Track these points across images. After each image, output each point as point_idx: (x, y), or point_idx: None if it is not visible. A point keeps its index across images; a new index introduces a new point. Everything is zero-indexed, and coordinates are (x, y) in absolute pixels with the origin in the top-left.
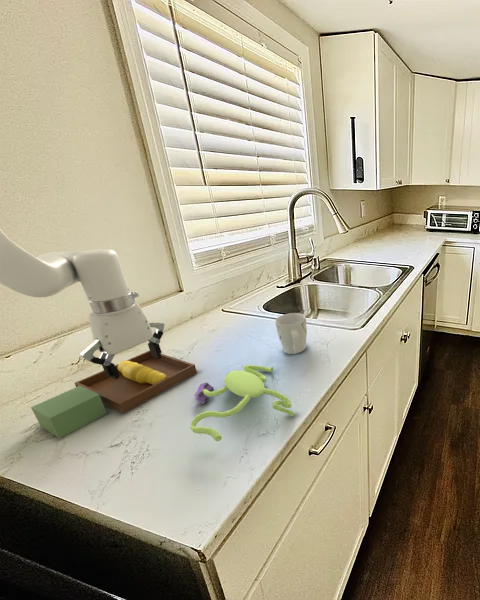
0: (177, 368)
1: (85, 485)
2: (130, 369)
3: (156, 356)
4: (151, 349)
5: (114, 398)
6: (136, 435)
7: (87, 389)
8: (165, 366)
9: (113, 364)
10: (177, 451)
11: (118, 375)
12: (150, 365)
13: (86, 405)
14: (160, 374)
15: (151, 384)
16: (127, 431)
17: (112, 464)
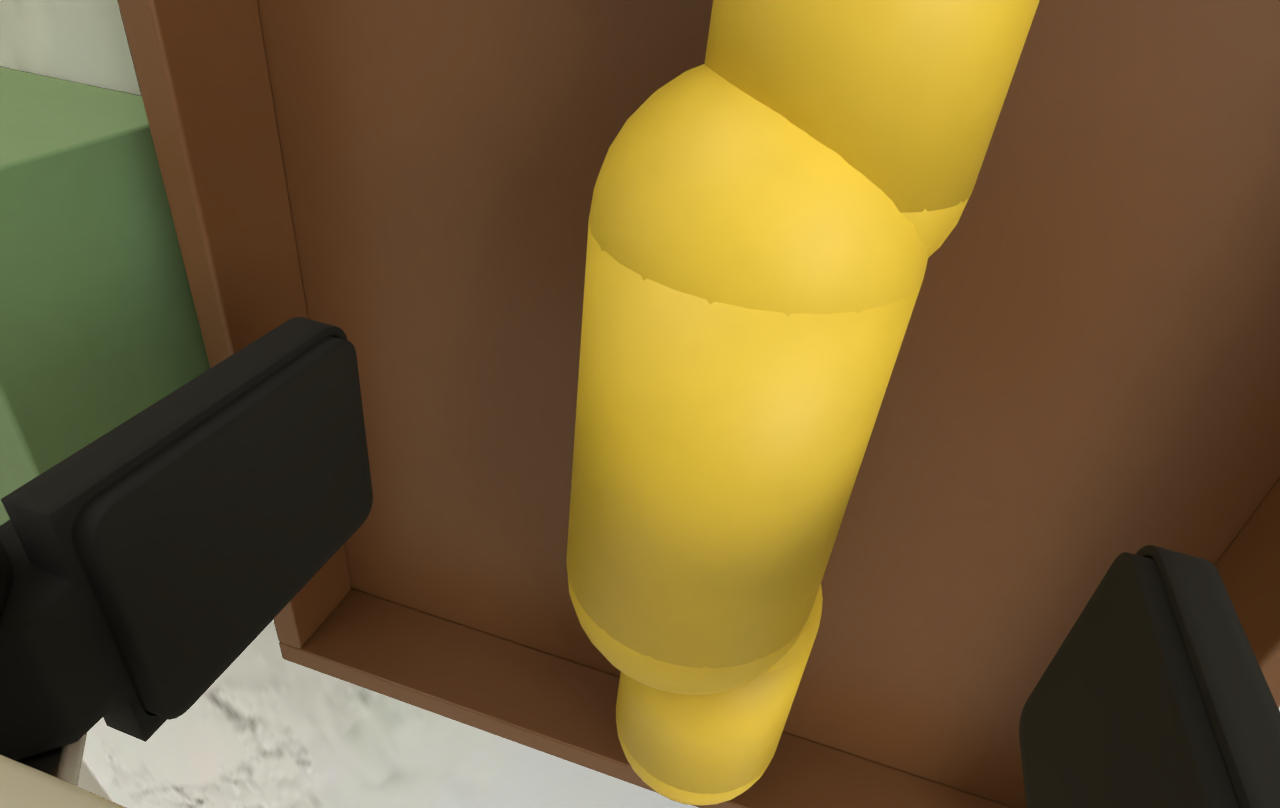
0: None
1: (102, 735)
2: (602, 447)
3: (1050, 710)
4: (1134, 805)
5: (374, 384)
6: (313, 756)
7: (4, 416)
8: (1183, 438)
9: (156, 726)
10: None
11: (345, 533)
12: (1248, 103)
13: None
14: (692, 802)
15: None
16: (297, 702)
17: (189, 760)
